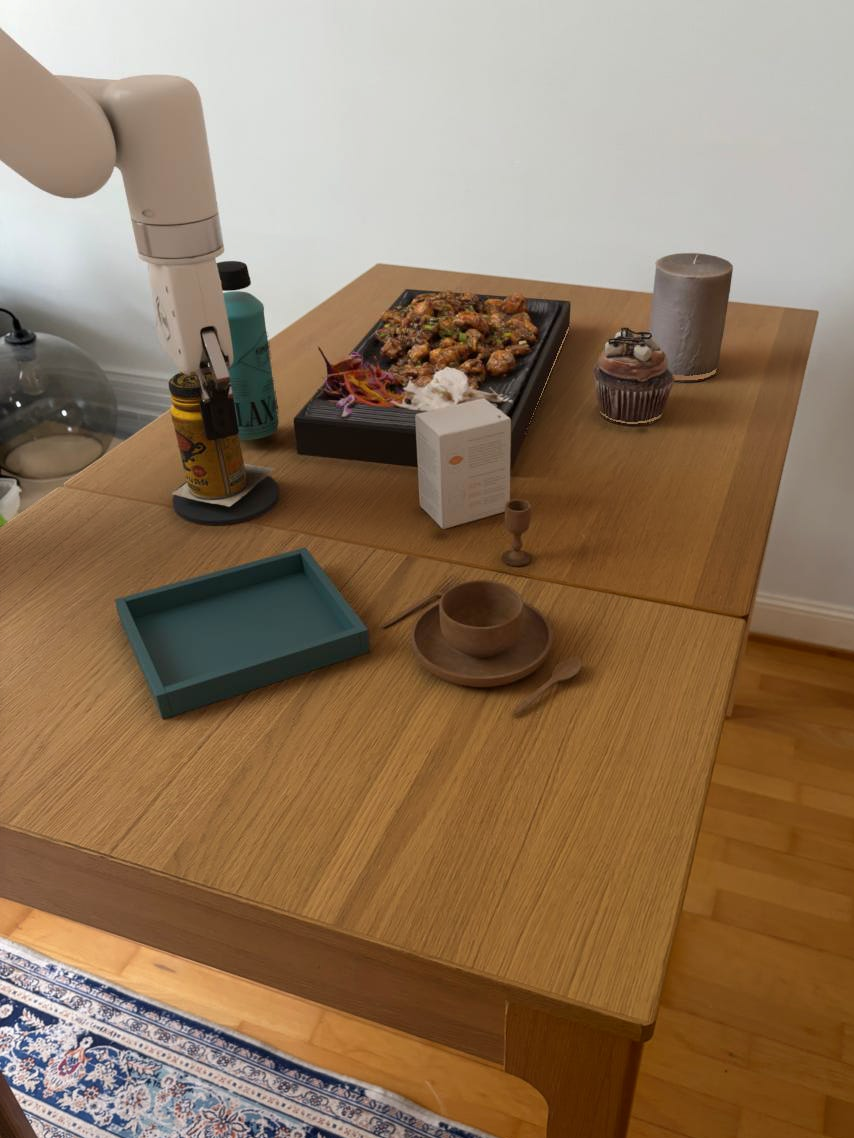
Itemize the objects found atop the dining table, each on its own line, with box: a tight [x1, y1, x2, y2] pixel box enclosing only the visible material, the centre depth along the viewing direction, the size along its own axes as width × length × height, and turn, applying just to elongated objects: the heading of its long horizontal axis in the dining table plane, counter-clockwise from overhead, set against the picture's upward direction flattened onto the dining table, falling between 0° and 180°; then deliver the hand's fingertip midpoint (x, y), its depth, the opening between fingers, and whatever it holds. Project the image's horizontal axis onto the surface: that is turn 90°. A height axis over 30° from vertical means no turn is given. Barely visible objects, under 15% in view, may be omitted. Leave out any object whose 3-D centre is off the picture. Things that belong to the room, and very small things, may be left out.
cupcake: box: [593, 326, 675, 427], centre depth 117 cm, size 10×10×10 cm
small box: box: [415, 398, 511, 530], centre depth 98 cm, size 8×6×10 cm
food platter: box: [292, 288, 572, 473], centre depth 124 cm, size 45×25×10 cm, turn 167°
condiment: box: [167, 371, 276, 507], centre depth 99 cm, size 7×8×12 cm
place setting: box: [380, 498, 583, 717], centre depth 84 cm, size 18×20×6 cm
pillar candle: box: [648, 252, 734, 383], centre depth 127 cm, size 10×10×15 cm
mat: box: [171, 475, 280, 526], centre depth 103 cm, size 11×11×1 cm
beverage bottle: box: [216, 260, 281, 441], centre depth 108 cm, size 6×7×20 cm
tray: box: [114, 547, 371, 720], centre depth 84 cm, size 18×15×2 cm
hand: (212, 421), depth 98 cm, fingers closed on condiment, 6 cm apart
